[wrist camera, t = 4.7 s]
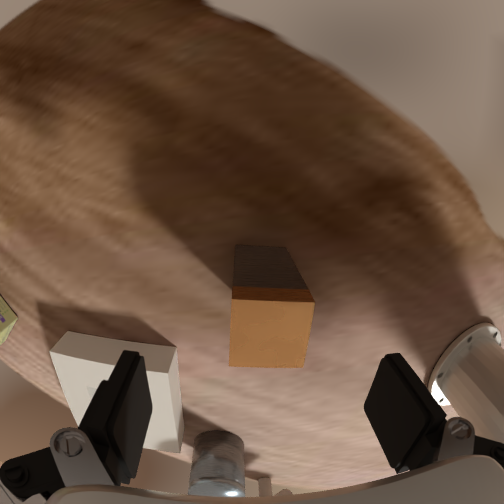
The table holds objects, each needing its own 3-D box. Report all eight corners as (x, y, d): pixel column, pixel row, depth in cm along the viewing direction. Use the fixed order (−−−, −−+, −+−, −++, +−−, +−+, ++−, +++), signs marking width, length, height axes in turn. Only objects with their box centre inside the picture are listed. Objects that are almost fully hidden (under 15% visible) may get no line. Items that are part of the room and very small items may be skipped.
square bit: (286, 247, 24) (315, 302, 14) (281, 293, 25) (303, 367, 15) (235, 244, 23) (231, 299, 14) (233, 291, 25) (229, 366, 15)
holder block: (176, 346, 26) (168, 373, 22) (184, 427, 29) (180, 453, 25) (67, 330, 25) (49, 351, 21) (92, 410, 29) (81, 432, 25)
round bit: (245, 431, 30) (246, 486, 22) (242, 457, 31) (243, 507, 24) (193, 428, 29) (185, 482, 22) (196, 454, 31) (190, 504, 23)
